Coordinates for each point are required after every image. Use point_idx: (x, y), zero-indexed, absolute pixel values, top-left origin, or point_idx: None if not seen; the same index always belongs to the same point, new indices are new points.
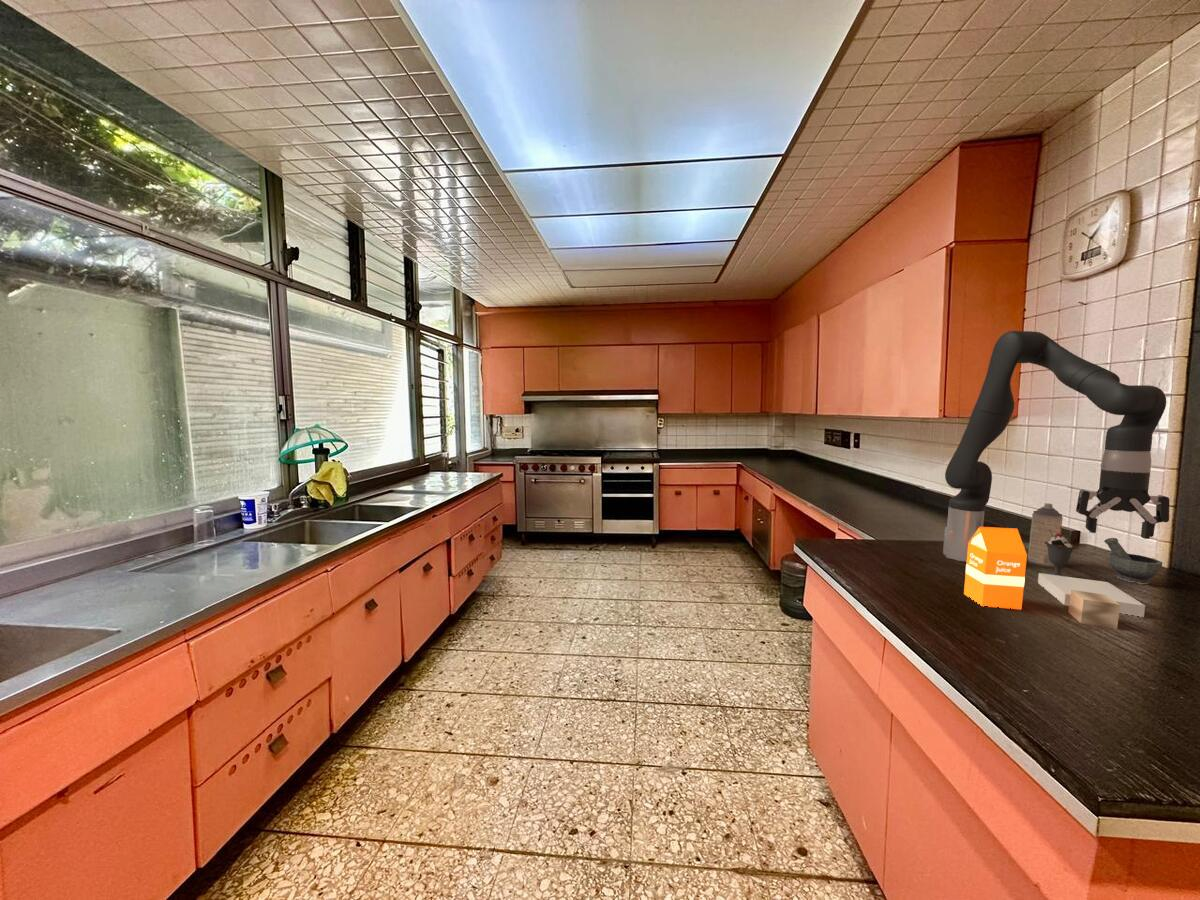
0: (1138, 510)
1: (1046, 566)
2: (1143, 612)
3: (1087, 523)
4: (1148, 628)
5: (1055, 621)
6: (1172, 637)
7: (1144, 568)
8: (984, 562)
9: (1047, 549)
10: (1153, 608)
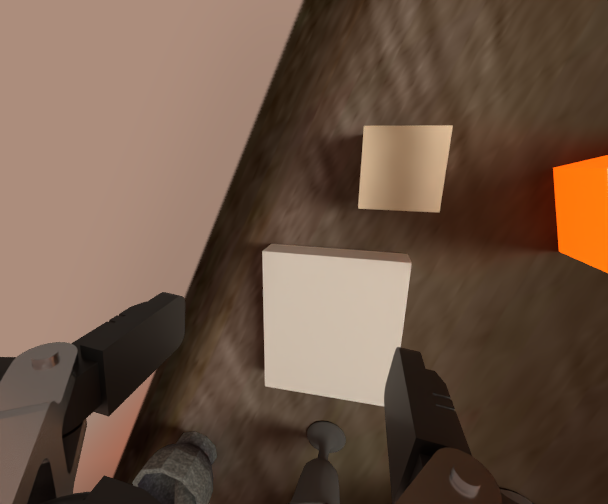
0: (21, 468)
1: None
2: (269, 246)
3: (452, 420)
4: (293, 176)
5: (500, 111)
6: (272, 141)
7: (172, 457)
8: None
9: None
10: (229, 307)
